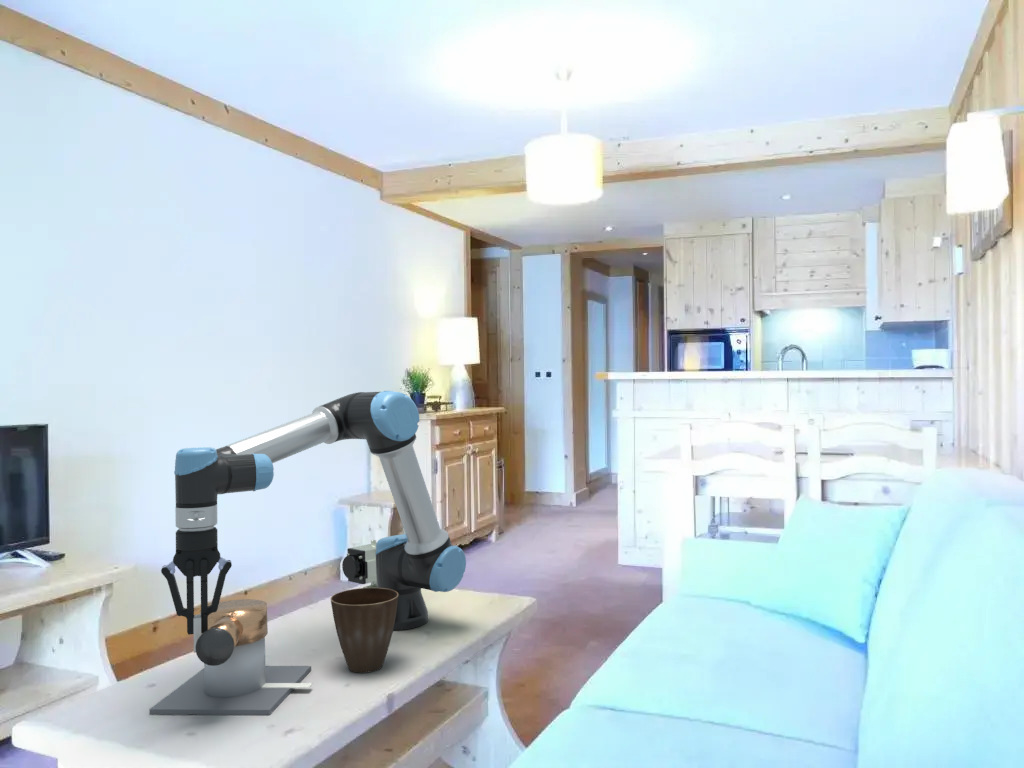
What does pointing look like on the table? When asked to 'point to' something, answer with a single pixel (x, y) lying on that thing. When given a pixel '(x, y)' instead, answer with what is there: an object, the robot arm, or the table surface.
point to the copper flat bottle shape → (231, 629)
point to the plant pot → (364, 625)
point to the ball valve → (361, 565)
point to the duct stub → (235, 686)
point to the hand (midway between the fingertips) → (197, 650)
